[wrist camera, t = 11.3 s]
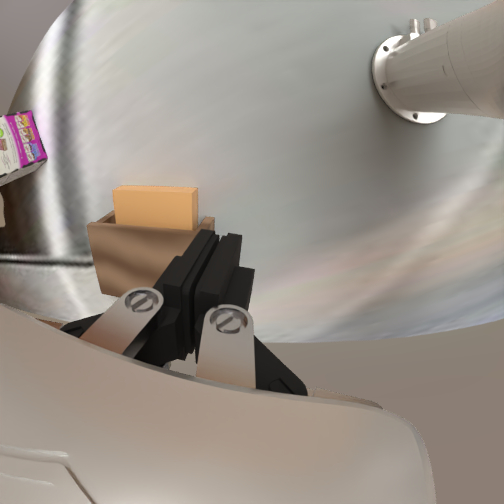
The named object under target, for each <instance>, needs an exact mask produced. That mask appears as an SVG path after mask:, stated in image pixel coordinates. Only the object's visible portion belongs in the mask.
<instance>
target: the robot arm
mask: <svg viewBox="0 0 504 504" xmlns="http://www.w3.org/2000/svg"><path fill="white" fill-rule="evenodd" d="M410 30H411V33H409V34H408V35H398V36H393V37H391V38H388V39H386V40H385V41H384V42H382V43H381V44H380V45H379V46H378V47H377V49H376V51H375V53H374V56H373V60H372V74H373V79H374V83H375V86H376V88H377V90H378V92H379V94H380V96H381V97H382V99H383V100H384V102H385V103H386V104H387V105H388V106H389V107H390V109H391V110H393V111H394V112H395V113H396V114H397V115H399V116H400V117H402V118H404V119H406V120H408V121H411V122H414V123H420V124H429V123H435V122H437V121H439V120H441V119H442V118H443V117H445V116H446V114H447V113H450V114H464V115H474V116H483V117H491V118H499V119H504V0H496V1H494V2H492V3H490V4H488V5H486V6H484V7H482V8H480V9H477V10H475V11H473V12H470V13H468V14H465V15H463V16H461V17H458V18H456V19H454V20H452V21H449V22H447V23H445V24H443V25H440V26H438V27H437V22H436V21H435V20H433V19H430V18H425V19H424V30H425V33H424V34H422V35H420V22H419V21H418V20H415V19H410ZM383 49H384V50H385V51H384V50H383ZM381 85H382V86H383V89H382V88H381ZM412 115H413V116H414V117H413V116H412ZM241 243H242V235H238V234H232V233H228V235H227V236H222V238H221V240H220V242H219V235H216V234H215V231H213V230H207V229H201V230H200V231H199V232H198V234H197V235H196V236H195V238H194V239H193V241H192V242H191V243H190V245H189V246H188V248H187V249H186V250H185V252H184V253H183V255H182V256H175V257H174V258H173V260H172V261H171V262H170V264H169V265H168V266H167V268H166V269H165V271H164V272H163V273H162V275H161V276H160V278H159V279H158V280H157V282H156V283H155V285H154V286H153V287H152V288H149V287H138V288H134V289H131V290H129V291H127V292H126V293H125V294H123V295H122V296H121V297H120V298H119V299H118V300H117V301H116V302H115V303H114V304H113V305H112V306H111V307H110V308H109V309H108V310H107V311H106V312H105V313H102V314H98V315H95V316H91V317H88V318H84V319H81V320H77V321H74V322H70V323H68V324H66V325H64V326H63V324H62V323H58V322H52V321H47V320H42V319H37V318H33V317H31V316H29V315H27V314H25V313H23V312H21V311H19V310H16V309H14V308H12V307H10V306H7V305H4V304H2V303H0V504H436V496H435V487H434V480H433V474H432V469H431V464H430V460H429V456H428V453H427V450H426V447H425V444H424V441H423V439H422V437H421V435H420V434H419V432H418V430H417V429H416V428H415V427H414V425H412V424H411V423H410V422H409V421H407V420H406V419H404V418H402V417H400V416H398V415H396V414H394V413H391V412H389V411H386V410H383V408H382V407H381V406H379V405H378V404H377V403H375V402H372V401H369V400H365V399H360V398H356V397H352V396H348V395H344V394H340V393H336V392H332V391H328V390H325V389H322V388H318V387H316V389H315V390H313V389H310V388H306V386H305V385H304V384H303V382H302V381H301V380H300V379H299V378H298V377H297V376H296V375H295V374H294V373H293V372H292V371H291V370H289V369H288V368H287V367H286V366H285V365H284V364H283V363H282V362H281V361H280V360H279V359H278V358H277V357H276V356H275V355H274V354H273V353H272V352H270V350H269V349H267V348H266V346H265V345H263V344H262V343H261V342H260V341H259V340H258V339H257V338H256V337H255V336H254V329H253V319H252V316H251V315H250V314H249V312H248V307H249V303H250V297H251V292H252V285H253V279H254V272H255V269H251V268H245V267H239V260H240V252H241ZM194 349H195V356H196V364H197V370H196V377H194V376H190V375H186V374H182V373H179V372H175V371H171V370H169V369H170V367H171V361H173V360H176V359H180V360H184V361H185V359H186V356H187V354H188V353H190V354H192V353H193V351H194Z"/></svg>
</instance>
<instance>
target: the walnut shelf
mask: <svg viewBox="0 0 504 504" xmlns="http://www.w3.org/2000/svg"><path fill="white" fill-rule="evenodd" d="M201 229H207V230H213V231H214V217H205V219H204V220H203V221H202V223H201V224H200V225H199V227H198V228H197V229H196V231H193V230H182V229H171V228H159V227H147V226H135V225H123V224H116V220H115V211H114V210H113V211H112V212H110V213H109V214H107V215H106V216H104V217H103V218H101V219H100V220H98V221H97V222H91V223H89V224H88V225H87V230H88V236H89V241H90V246H91V251H92V256H93V260H94V265H95V269H96V273H97V277H98V281H99V285H100V289H101V293H102V294H107V295H111V296H116V297H121V296H122V295H123V294H125V293H126V292H127V291H129V290H131V289H134V288H138V287H149V288H152V287H153V286H154V285H155V283H156V282H157V280H158V279H159V278H160V276H161V275H162V273H163V272H164V271H165V269H166V268H167V266H168V265H169V264H170V262H171V261H172V260H173V258H174V257H175V256H182V255H183V253H184V252H185V250H186V249H187V248H188V246H189V245H190V243H191V242H192V241H193V239H194V238H195V236H196V235H197V234H198V232H199V231H200V230H201Z"/></svg>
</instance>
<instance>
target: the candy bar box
mask: <svg viewBox="0 0 504 504" xmlns="http://www.w3.org/2000/svg"><path fill="white" fill-rule="evenodd" d="M46 160H47V155H46V152H45V149H44V147H43V144H42V141H41V139H40V136H39V133H38V130H37V127H36V124H35V121H34V118H33V115H32V111H31V110H29V111H23V112H17V113H12V114H8V115H3V116H0V186H2V185H4V184H6V183H8V182H11V181H13V180H15V179H17V178H20V177H22V176H24V175H26V174H29V173H31V172H34V171H36V170H37V169H38V168H39V167H40V165H41V164H42V163H44V162H45V161H46Z"/></svg>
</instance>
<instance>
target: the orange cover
mask: <svg viewBox="0 0 504 504" xmlns="http://www.w3.org/2000/svg"><path fill="white" fill-rule="evenodd" d="M112 191H113V202H114V211H115V220H116V224H123V225H135V226H147V227H159V228H171V229H182V230H193V231H196V229H197V228H198V188H189V187H166V186H120V187H118V188H116V189H114V190H112Z"/></svg>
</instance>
